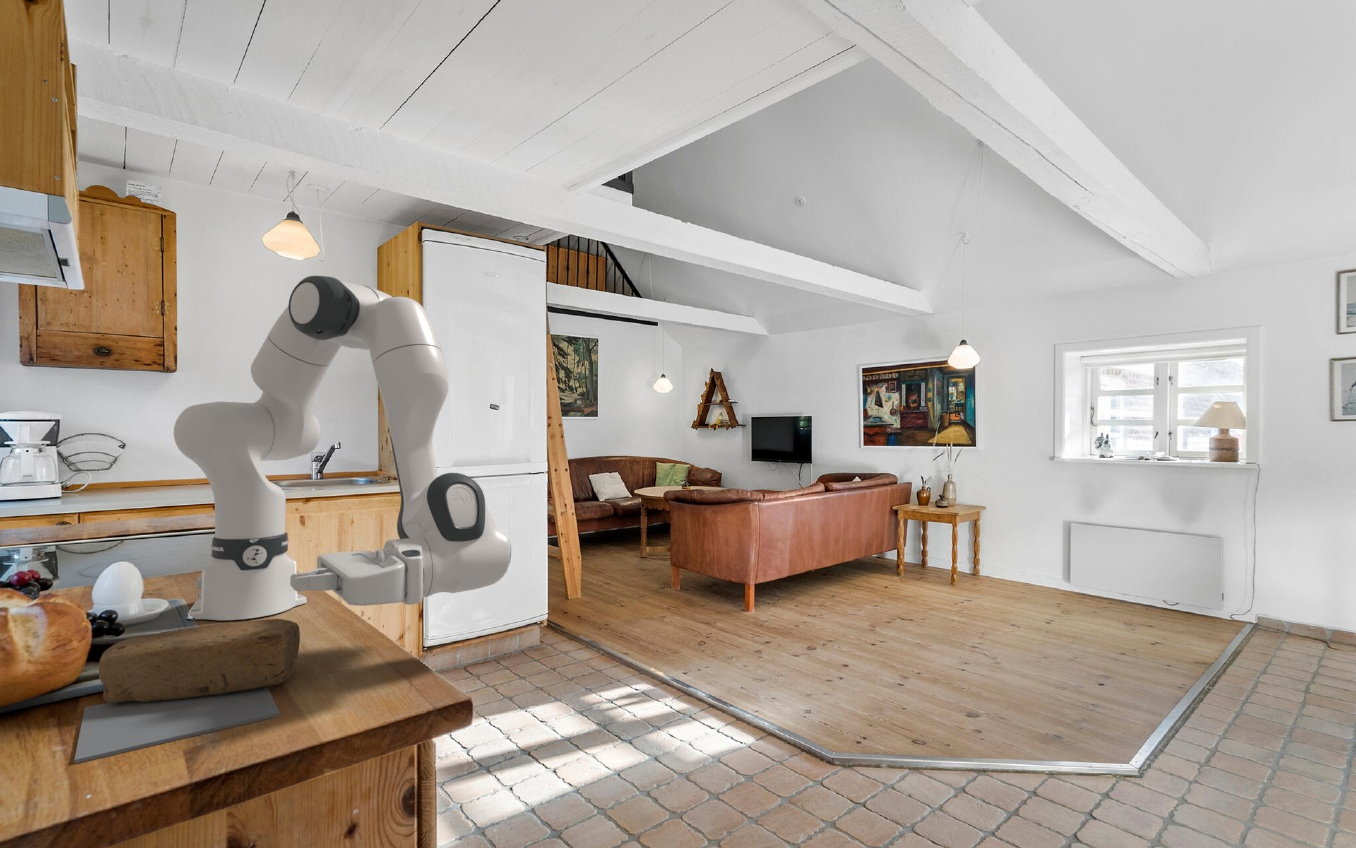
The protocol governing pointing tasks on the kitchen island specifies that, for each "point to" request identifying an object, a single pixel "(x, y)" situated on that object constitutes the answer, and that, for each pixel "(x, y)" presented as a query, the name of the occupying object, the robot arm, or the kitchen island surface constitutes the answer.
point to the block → (200, 661)
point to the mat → (166, 720)
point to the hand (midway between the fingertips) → (291, 583)
